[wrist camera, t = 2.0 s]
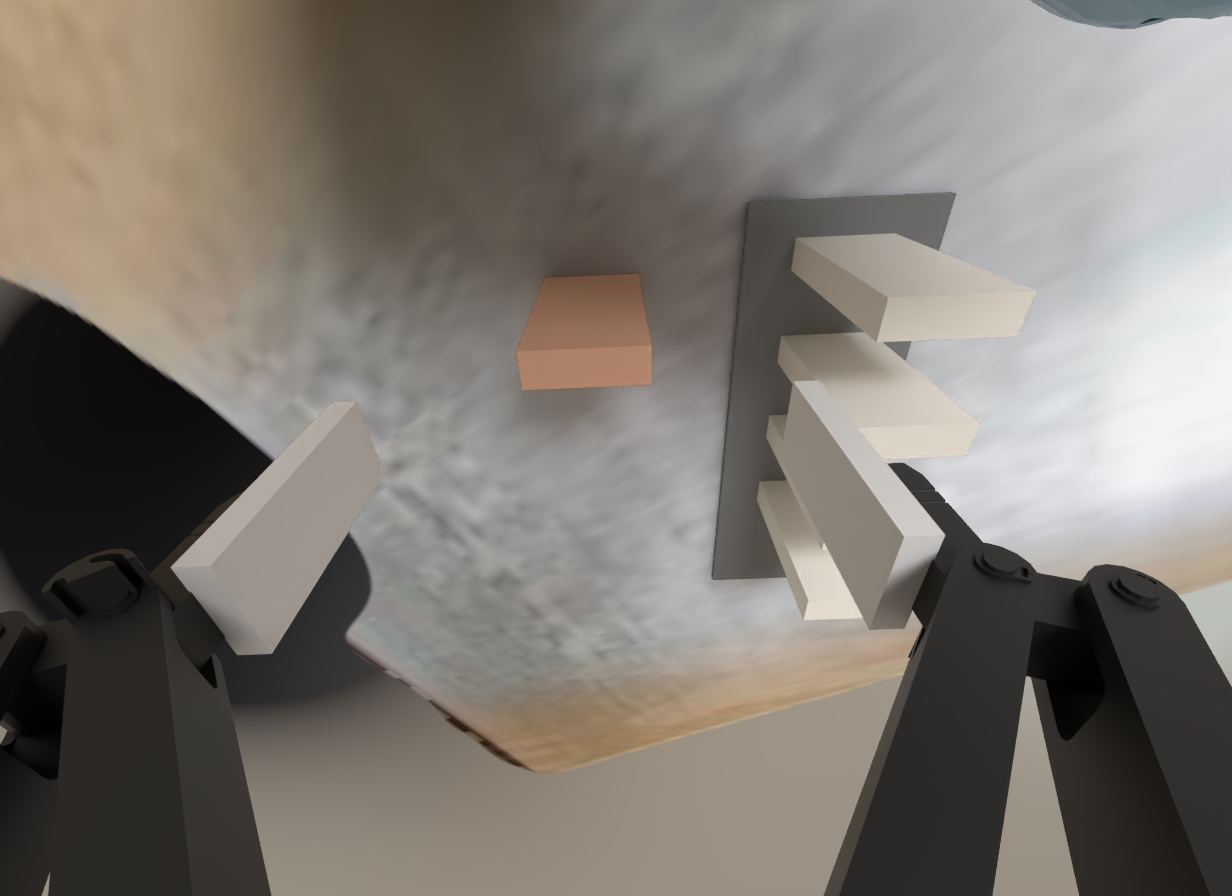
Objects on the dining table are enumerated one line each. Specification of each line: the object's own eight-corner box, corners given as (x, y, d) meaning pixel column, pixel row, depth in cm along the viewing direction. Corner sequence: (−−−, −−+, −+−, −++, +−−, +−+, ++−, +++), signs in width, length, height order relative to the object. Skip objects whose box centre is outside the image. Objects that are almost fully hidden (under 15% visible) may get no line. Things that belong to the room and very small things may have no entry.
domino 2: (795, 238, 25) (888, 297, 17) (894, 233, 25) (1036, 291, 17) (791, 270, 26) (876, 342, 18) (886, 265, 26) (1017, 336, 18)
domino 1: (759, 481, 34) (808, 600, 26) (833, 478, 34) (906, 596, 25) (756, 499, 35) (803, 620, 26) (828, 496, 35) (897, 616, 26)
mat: (748, 202, 25) (750, 203, 24) (951, 192, 24) (956, 193, 24) (712, 576, 40) (713, 579, 39) (838, 571, 39) (839, 575, 39)
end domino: (544, 277, 27) (515, 351, 18) (638, 273, 26) (651, 345, 18) (548, 307, 27) (522, 390, 19) (638, 303, 27) (651, 384, 19)
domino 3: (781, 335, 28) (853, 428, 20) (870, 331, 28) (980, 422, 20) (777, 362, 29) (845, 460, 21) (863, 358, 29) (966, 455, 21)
